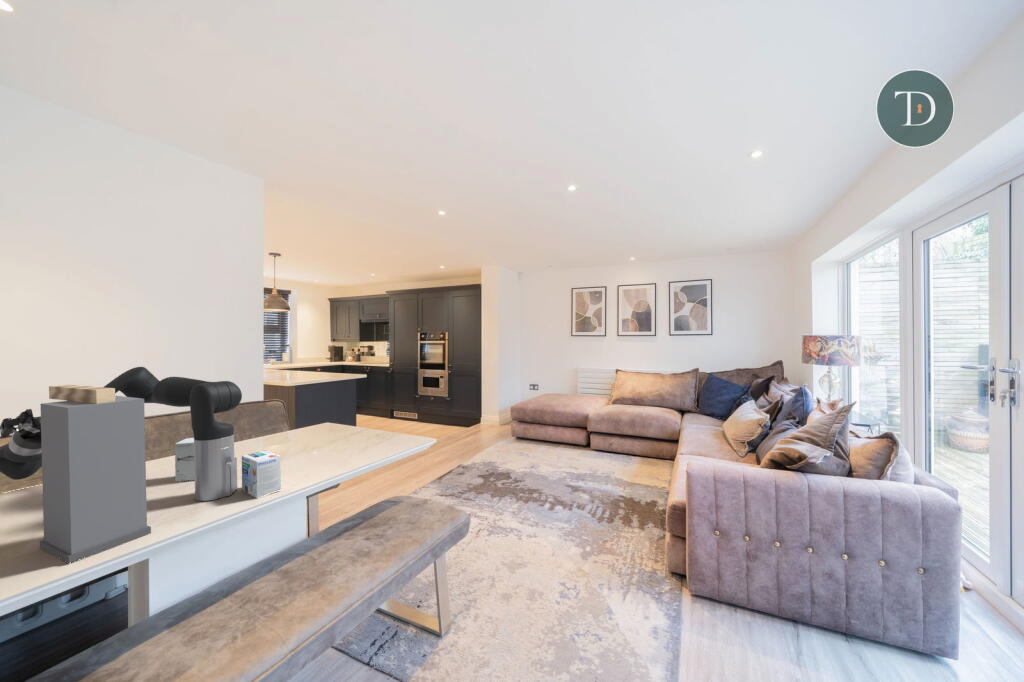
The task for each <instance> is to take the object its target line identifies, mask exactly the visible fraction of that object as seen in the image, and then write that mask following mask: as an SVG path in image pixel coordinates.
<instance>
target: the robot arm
mask: <svg viewBox="0 0 1024 682" xmlns="http://www.w3.org/2000/svg"><path fill="white" fill-rule="evenodd" d="M103 387H105V388H115V394H117V393H118V392H120V393H122V394H123V395H124V397H133V398H142V399H144V404H158V405H159V404H160V405H165V406H170V407H177V408H182V407H184V408H185V407H186V408H187V407H188V408H189V407H190V408H189V409H190V419H191V420H190V421H191V430H192V433H193V438H194V469H195V480H194V499H195V501H198V502H206V501H215V500H218V498H219V499H222V498H225V496H226V497H231V496H232V495H233V494H234V493H233V492H236V490H237V489H238V458H237V457H235V427H234V425H233V424H232V423H227V422H221V421H217V420H215V414H220V413H224V412H228V411H229V412H230V411H232V410H234V409H236V408H237V407H238V406H239V405H240V403H241V402H242V399H243V398H242V397H243V393H242V391H241V388H240V387H239V385H237V384H236V383H234V382H232V381H230V380H224V381H223V380H220V381H206V380H202V379H195V378H189V377H184V376H183V377H182V376H168V377H164V378H163V379H160V380H159V379H158V378H157V377H156V376H155V375H154V374H153V373H152V372H151V371H149V369H148V368H146V367H145V366H136V367H132V368H130V369H127V370H126V371H124V372H123V373H121V374H119V375H118V376H116V377H115V378H113V380H111V381H109V382H108V383H106V385H104V386H103ZM9 436H11V437H10V438H9V441H8V443H6V444H4V445H1V446H0V473H1V474H3V475H5V476H6V477H7V478H10V479H11V480H14V481H17V480H19V481H20V480H24V479H27V478H29V477H31V476H33V475H34V474H36V473H37V472H38V471H39V470H41V469H42V445H41V415H40V416H36V417H35V416H34V413H33V409H32V408H26V409H25V410H24V411H22V412H20V413H19V415H17V416H16V417H15V418H12V417H7V418H3V419H2V421H1V423H0V438H8V437H9ZM232 493H233V494H232ZM230 495H231V496H230Z"/></svg>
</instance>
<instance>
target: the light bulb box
mask: <svg viewBox="0 0 1024 682" xmlns="http://www.w3.org/2000/svg"><path fill="white" fill-rule="evenodd" d="M281 456H282V455H279V454H276V453H273V452H271V451H267V450H259V451H256V452H252V453H249V454H244V455H241V491H242V490H243V491H242V492H244V491H245V492H244V493H246V492H247V493H246V494H248V493H249V494H250V496H251V495H252V496H251V497H253V496H254V497H253V498H255V497H256V498H255V499H259V498H258V497H261V496H264V495H266V494H268V493H271V492H274V491H277V490H280V489H281V490H282V483H281V482H282V480H281V476H282V475H281V471H282V470H281ZM249 494H248V495H249ZM264 497H265V496H264ZM261 498H262V497H261Z"/></svg>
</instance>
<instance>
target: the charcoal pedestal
mask: <svg viewBox="0 0 1024 682" xmlns="http://www.w3.org/2000/svg"><path fill="white" fill-rule="evenodd" d="M40 416H41V445H42V467H41V476H42V477H41V478H42V481H41V482H42V484H41V485H42V518H43V520H42V521H43V540H40V541H39V549H41V550H42V551H45V552H46V553H48V554H50V555H51V554H52V556H53V557H55V556H56V557H55V558H57V557H58V558H57V559H59V558H60V559H59V560H61V559H62V560H61V561H63V560H64V561H66V562H68V563H70V562H73V561H76V560H79V559H81V558H84V557H87V558H89V557H92V556H94V555H97V554H99V553H102V552H105V551H108V550H109V549H112V548H115V546H116V547H118V546H120V544H121V545H124V544H126V543H129V542H132V541H133V540H137V539H139V538H142V537H145V536H147V535H150V534H152V526H149V525H148V513H147V512H148V511H147V508H148V507H147V505H148V504H147V471H146V469H147V468H146V465H147V463H146V425H145V424H146V423H145V416H146V415H145V403H144V399H142V398H133V397H127V396H125V395H124V396H121V395H115V402H107V403H99V404H94V403H85V402H75V401H66V400H60V401H53V402H44V403H42V402H41V403H40ZM149 533H150V534H149ZM123 543H124V544H123ZM117 545H118V546H117ZM91 555H92V556H91ZM88 556H89V557H88ZM84 559H85V558H84ZM81 560H82V559H81ZM64 561H63V562H64ZM79 561H80V560H79ZM66 562H65V563H66ZM76 562H77V561H76ZM68 563H67V564H68ZM73 563H74V562H73Z"/></svg>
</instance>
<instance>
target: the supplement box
mask: <svg viewBox="0 0 1024 682" xmlns="http://www.w3.org/2000/svg"><path fill="white" fill-rule="evenodd" d="M174 446H175V447H174V449H175V450H174V451H175V452H174V456H175V457H174V460H175V464H174V466H175V467H174V468H175V472H174V475H175V476H174V477H175V479H174V480H175V483H177V482H188V480H189V481H195V469H194V437H187V438H184V439H182V440H180V441H178V442H176V443H174Z"/></svg>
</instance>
